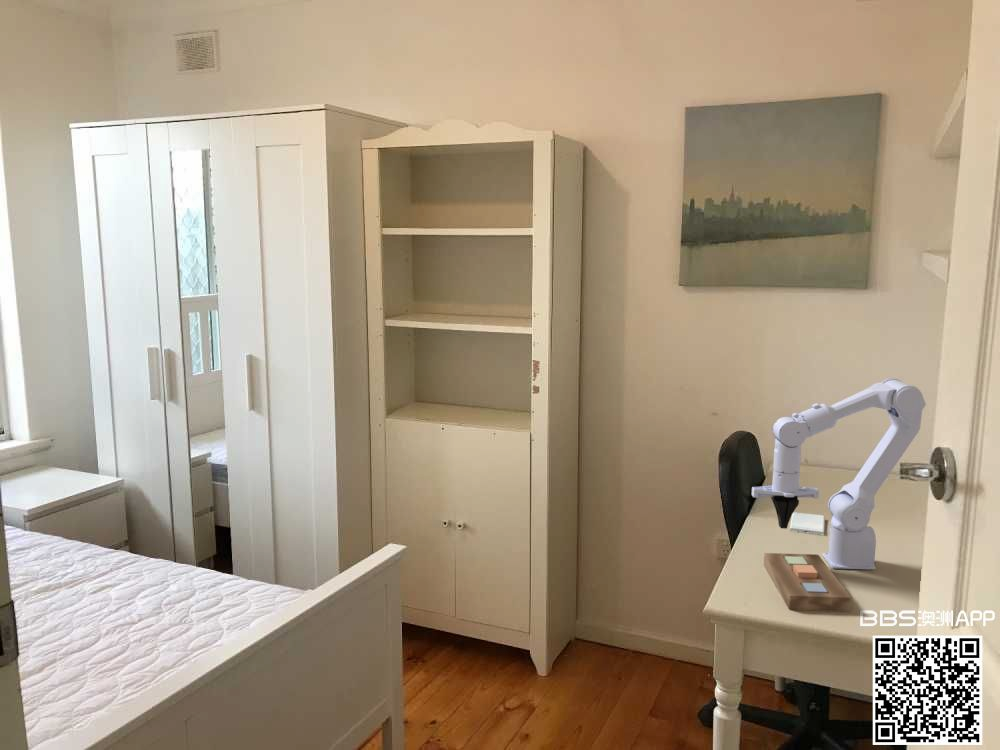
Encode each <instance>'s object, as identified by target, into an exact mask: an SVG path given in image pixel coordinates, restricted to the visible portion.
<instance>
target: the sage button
mask: <svg viewBox="0 0 1000 750" xmlns="http://www.w3.org/2000/svg"><path fill="white" fill-rule="evenodd" d="M784 559H785V561H786V562H787V564H788V565H808V564H807V562H806V561H805V559H804V558H803V557H792V556H785V558H784Z"/></svg>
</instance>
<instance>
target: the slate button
mask: <svg viewBox="0 0 1000 750" xmlns="http://www.w3.org/2000/svg"><path fill="white" fill-rule="evenodd" d="M802 587H803V588H804V590H805V591H806V593H828V592H827V590H826V589H825V587H824V586H823V585H822V583H802Z"/></svg>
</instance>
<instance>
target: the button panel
mask: <svg viewBox="0 0 1000 750" xmlns="http://www.w3.org/2000/svg"><path fill="white" fill-rule="evenodd" d="M785 556H792V557H803V558H804V559H805V561H806V562H807V564H808V565H812V566H813V567H814V568H815V570H816V571H817V573H818V575H817V579H810V578H797V577H796V576H795V574H794V573H793V565H788V564H787V562H786V561H785V559H784V558H785ZM764 566H765V567H764ZM763 567H764V568H766V569H765V570H766V572H767V574H768V576H769V577H770V578H771V581H772V582H773V585H774V586H775V588H776V590H777V591H778V593H779V595H780V597H781V598H782V600H783V601H784V603H785V605H786V606H787V609H788V610H793V611H794V610H795V611H797V610H799V611H818V612H819V611H821V612H822V611H825V612H846V613H847V612H851V603H852V596H850V594H849V593H848V592H847V590H846V589H845V588H844V587H843V585H842V584H841V582H840V581H839V580H838V579H837V577H836V576H835V575H834V573H833V572H832V571H831V570H830V568H829V566H827V564H826V562H825V561H824V560H823V559H822V558H821V556H820V555H819V554H810V553H809V554H807V553H781V552H779V553H777V552H776V553H773V552H764V555H763ZM802 583H822V585H823V586H824V587H825V589H826V590H827V592H828V593H806V591H805V590H804V588H803V587H802Z"/></svg>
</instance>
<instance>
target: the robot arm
mask: <svg viewBox="0 0 1000 750" xmlns="http://www.w3.org/2000/svg"><path fill="white" fill-rule="evenodd" d="M926 405H927V403H926V401H925V399H924V395H923V394H922V392H921V390H920V389H919V388H918V387H916V386H915V385H910V384H907V383H905V382H904V381H901V380H900V379H898V378H887V379H885V380H883V381H881V382H876V383H874V384H872V385H870V386H869V387H867V388H865V389H863V390H861V391H858V392H857V393H855V394H853V395H851V396H848V397H846V398H844V399H842V400H840V401H838V402H835V403H833V404H831V405H828V404H826V403H821V404H819V403H817V402H815V403H813V404H812V405H811V407H810V408H809V409H808V408H807V409H806V410H803V411H801V412H799V413H798V412H793V413H792V414H791V417H790V416H783V417H780V418H779V419H777V420H776V421H775V422H774V424H773V427H771V432H772V435H773V437H774V438H775V439H774V449H773V452H774V453H773V464H772V465H773V466H772V467H773V469H772V482H771V483H772V484H771V485H763V486H752V487H751V496H752V498H756V499H757V498H759V497H761V498H762V497H763V498H771V501H772V503H773V506H774V508H775V512H776V516H777V521H778V527H779V528H780V529H788V527H789V523H790V521H791V518H792V514H793V512H795V510H796V509H797V507H799V504H800V500H799V499H798V498H813V499H819V498H820V497H819V495H820V493H819V492H820V491H819V489H818V488H817V487H806V486H800V474H801V473H800V472H801V471H800V470H801V457H802V454H801V453H802V450H801V449H802V445H803V444H804V443H805V441H806V439H808V438H810V437H812V436H815V435H817V434H820V433H822V432H825V431H827V430H830V429H832V428H834V427H835V426H836V424H837V422H838V420H840V419H843V418H845V417H849V416H851V415H854V414H856V413H860V412H862V411H865V410H868V409H870V408H877V409H883V410H886V411H887V415H888V417H889V420H890V424H891V425H890V426H889V428H888V429H887V430H886V432H885V433H884V435H883V436H882V438H881V439H880V441H879V442H878V444H877V445H876V447H875V448H874V449H873V451H872V453H870V455H869V456H868V458H867V459H866V461H865V462H864V464H863V466H862V467H861V468H860V470H859V471H858V473H857V474H856V476H854V477H855V478H854V479H853V480H852V481H851V482H848V483H847V484H844V485H843V486H842V488H841V489H840V490H839V491H838V492H836V493H834V494H832V496H830V497H829V498H828V499H829V500H828V502H827V507H828V508H827V509H828V511H829V513H830V514H831V515H832V517H831V520H830V526H829V541H828V552H822V555H821V556H823V558H824V559H825V561H826V562H827V563H828V564H829V566H830V567H831V568H832V569H841V570H842V569H843V570H844V569H846V570H848V569H849V570H876V566H875V558H876V547H877V546H876V545H877V538H876V532H875V529H874V528H873V527H872V526H870V525H869V526H868V524H869V523H870V519H871V514H872V512H873V510H874V509H875V506H876V505H875V503H876V502H875V496H876V494H877V492H878V491H879V489H880V488H881V487H882V486H883V483H884V482H885V481H886V479H887V478H888V476H889V475H890V474H891V472H892V471H893V470H894V468H895V467H896V465H897V463H898V462H899V461H900V459H901V458H902V457H903V455H904V453H905V452H906V451H907V450H908V448H909V446H910V445H911V443H912V442H913V440H914V439H915V438H916V436H917V435H918V434H919V432H920V430H921V426H922V425H921V424H922V423H921V422H922V416H923V415H922V414H923V411H924V409H925V407H926Z"/></svg>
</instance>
